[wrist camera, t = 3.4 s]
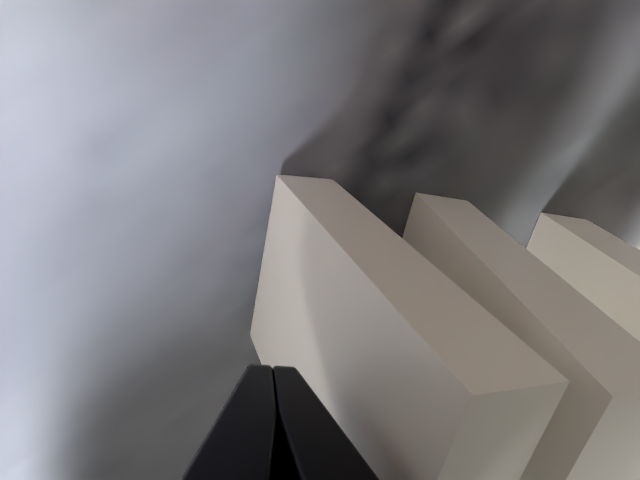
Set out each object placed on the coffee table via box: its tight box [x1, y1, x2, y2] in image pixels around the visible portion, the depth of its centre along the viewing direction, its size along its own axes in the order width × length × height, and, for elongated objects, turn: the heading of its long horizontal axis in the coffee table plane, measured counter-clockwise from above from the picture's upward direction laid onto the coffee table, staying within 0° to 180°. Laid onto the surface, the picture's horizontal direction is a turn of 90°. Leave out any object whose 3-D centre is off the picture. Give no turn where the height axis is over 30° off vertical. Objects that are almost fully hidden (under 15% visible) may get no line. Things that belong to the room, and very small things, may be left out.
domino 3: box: [526, 212, 640, 342], centre depth 11 cm, size 5×2×8 cm, turn 169°
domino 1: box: [250, 175, 570, 480], centre depth 10 cm, size 5×2×8 cm, turn 169°
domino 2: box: [402, 192, 640, 480], centre depth 11 cm, size 5×2×8 cm, turn 169°
